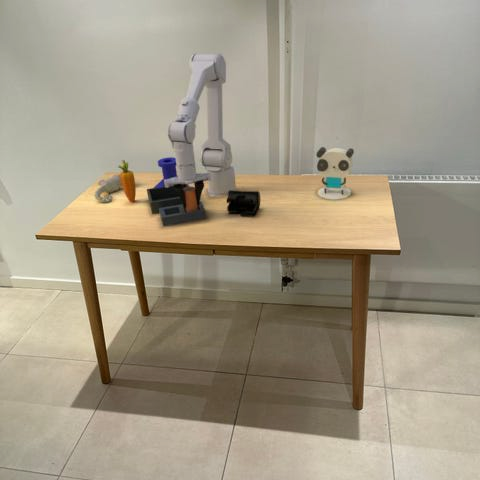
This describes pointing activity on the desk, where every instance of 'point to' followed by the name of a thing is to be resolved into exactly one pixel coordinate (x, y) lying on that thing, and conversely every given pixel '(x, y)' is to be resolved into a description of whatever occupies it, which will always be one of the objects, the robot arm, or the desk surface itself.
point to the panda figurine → (334, 172)
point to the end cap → (243, 202)
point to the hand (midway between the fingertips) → (191, 205)
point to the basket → (163, 197)
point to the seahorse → (108, 187)
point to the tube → (190, 198)
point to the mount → (167, 169)
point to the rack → (181, 214)
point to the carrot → (127, 182)
